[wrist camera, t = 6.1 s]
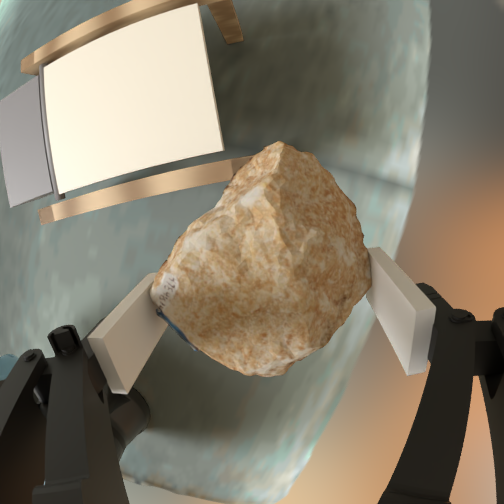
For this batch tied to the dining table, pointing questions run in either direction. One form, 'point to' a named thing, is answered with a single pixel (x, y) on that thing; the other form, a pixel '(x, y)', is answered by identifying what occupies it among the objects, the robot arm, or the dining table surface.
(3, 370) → the robot arm
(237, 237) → the stone
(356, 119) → the dining table surface
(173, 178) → the frame
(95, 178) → the trapdoor
